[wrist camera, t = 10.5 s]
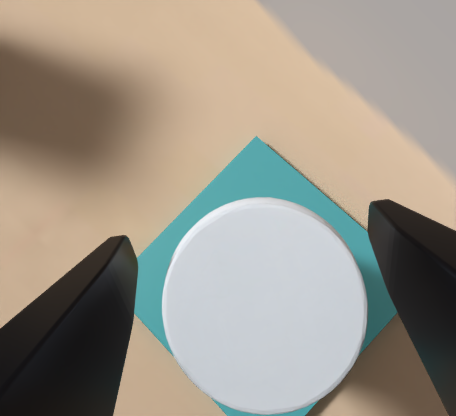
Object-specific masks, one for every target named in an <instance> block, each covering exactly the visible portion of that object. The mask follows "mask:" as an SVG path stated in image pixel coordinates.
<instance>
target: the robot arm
mask: <svg viewBox="0 0 456 416" xmlns="http://www.w3.org/2000/svg"><path fill="white" fill-rule="evenodd" d="M368 237H369V240H370V243H371V246H372V249H373V252H374V254H375V257H376V260H377V263H378V266H379V269H380V272H381V274H382V277H383V280H384V283H385V286H386V288H387V291H388V293H389V296H390V298H391V300H392V302H393V304H394V306H395V308H396V310H397V312H398V314H399V316H400V318H401V320H402V322H403V324H404V326H405V328H406V330H407V332H408V334H409V336H410V338H411V340H412V342H413V344H414V346H415V348H416V350H417V352H418V354H419V356H420V358H421V360H422V362H423V364H424V366H425V368H426V370H427V372H428V374H429V376H430V378H431V380H432V382H433V384H434V386H435V388H436V390H437V392H438V394H439V396H440V398H441V401H442V403H443V405H444V407H445V409H446V411H447V413H448V415H449V416H456V231H455V230H453V229H451V228H448V227H446V226H444V225H442V224H440V223H438V222H436V221H434V220H432V219H429V218H427V217H425V216H423V215H421V214H419V213H417V212H415V211H413V210H410V209H408V208H406V207H404V206H402V205H400V204H398V203H396V202H394V201H391V200H389V199H385V200H377V201H372V202H371V203H370V205H369V215H368ZM137 278H138V261H137V258H136V255H135V253H134V250H133V247H132V245H131V242H130V240H129V238H128V237H127V236H126V235H121V236H114V237H110V238H108V239H107V240H106V241H105V242H104V243H102V244H101V245H100V246H99V247H98V248H96V249H95V250H94V251H93V252H92V253H90V254H89V255H88V256H87V257H86V258H84V259H83V260H82V261H81V262H80V263H78V264H77V265H76V266H75V267H74V268H72V269H71V270H70V271H69V272H68V273H66V274H65V275H64V276H63V277H62V278H60V279H59V280H58V281H57V282H56V283H54V284H53V285H52V286H51V287H50V288H48V289H47V290H46V291H45V292H44V293H42V294H41V295H40V296H39V297H38V298H36V299H35V300H34V301H33V302H32V303H30V304H29V305H28V306H27V307H26V308H24V309H23V310H22V311H21V312H20V313H18V314H17V315H16V316H15V317H14V318H12V319H11V320H10V321H9V322H8V323H6V324H5V325H4V326H3V327H2V328H0V416H113V413H114V409H115V404H116V399H117V395H118V390H119V386H120V381H121V376H122V372H123V367H124V363H125V358H126V354H127V349H128V344H129V340H130V335H131V330H132V325H133V319H134V310H135V299H136V289H137Z"/></svg>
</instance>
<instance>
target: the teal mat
mask: <svg viewBox="0 0 456 416" xmlns="http://www.w3.org/2000/svg"><path fill="white" fill-rule="evenodd" d="M255 197H271V198H277V199H282V200H287V201H290V202H293V203H296V204H299V205H301V206H303V207H306V208H307V209H309V210H311V211H313V212H315V213H316V214H317V215H319V216H320V217H322V218H323V219H324V220H326V221H327V222H328V223H329V224H330V225H331V226H332V227H333V228H334V229H335V230H336V231H337V232H338V233H339V234H340V235H341V237H342V238H343V239H344V240H345V242H346V243H347V245H348V246H349V248H350V250H351V252H352V253H353V255H354V257H355V260H356V262H357V264H358V267H359V269H360V271H361V274H362V277H363V280H364V284H365V288H366V293H367V301H368V323H367V330H366V335H365V339H364V343H363V346H362V348H361V351H360V353H359V355H360V354H361V353H362V351H363V350H364V349H365V348H366V347H367V346H368V345H369V344H370V343H371V341H372V340H373V339H374V338H375V337H376V336H377V335H378V334H379V333H380V331H381V330H382V329H383V328H384V327H385V326H386V325H387V324H388V323H389V321H390V320H391V319H392V318H393V317H394V316H395V315H396V314H397V310H396V308H395V306H394V304H393V302H392V300H391V298H390V296H389V293H388V291H387V288H386V286H385V283H384V280H383V277H382V274H381V272H380V269H379V266H378V263H377V260H376V257H375V254H374V252H373V249H372V246H371V243H370V240H369V237H368V232H367V231H366V230H365V229H363V228H362V227H361V226H360V225H359V224H358V223H356V222H355V221H354V220H353V219H352V218H351V217H350V216H348V215H347V214H346V213H345V212H344V211H343V210H341V209H340V208H339V207H338V206H337V205H336V204H334V203H333V202H332V201H331V200H330V199H329V198H327V197H326V196H325V195H324V194H323V193H322V192H321V191H319V190H318V189H317V188H316V187H315V186H314V185H312V184H311V183H310V182H309V181H308V180H307V179H305V178H304V177H303V176H302V175H301V174H300V173H299V172H297V171H296V170H295V169H294V168H293V167H292V166H290V165H289V164H288V163H287V162H286V161H285V160H283V159H282V158H281V157H280V156H279V155H278V154H276V153H275V152H274V151H273V150H272V149H271V148H270V147H268V146H267V145H266V144H265V143H264V142H263V141H261V140H260V139H259V138H258V137H257V136H256V137H255V138H254V139H253V140H252V141H251V142H250V143H249V144H248V145H247V146H246V147H245V148H244V149H243V150H242V151H241V152H240V153H239V154H238V155H237V156H236V157H235V158H234V159H233V160H232V161H231V162H230V163H229V164H228V165H227V167H226V168H225V169H224V170H223V171H222V172H221V173H220V174H219V175H218V176H217V177H216V178H215V179H214V180H213V181H212V182H211V183H210V184H209V185H208V186H207V187H206V188H205V189H204V190H203V191H202V192H201V193H200V194H199V195H198V196H197V197H196V198H195V199H194V200H193V201H192V202H191V203H190V204H189V205H188V206H187V207H186V208H185V209H184V211H183V212H182V213H181V214H180V215H179V216H178V217H177V218H176V219H175V220H174V221H173V222H172V223H171V224H170V225H169V226H168V227H167V228H166V229H165V230H164V231H163V232H162V233H161V234H160V235H159V236H158V237H157V238H156V239H155V240H154V241H153V242H152V243H151V244H150V245H149V246H148V247H147V248H146V249H145V250H144V251H143V252H142V253H141V255H140V256H139V257H138V258H137V261H138V278H137V289H136V299H135V310H134V313H135V314H136V316H137V317H138V318H139V319H140V320H141V321H142V322H143V323H144V324H145V325H146V327H147V328H148V329H149V330H150V331H151V332H152V333H153V334H154V335H155V337H156V338H157V339H158V340H159V341H160V342H161V343H162V344H163V345H164V346H165V348H166V349H167V350H168V351H169V352H170V353H171V354H172V355H173V353H172V351H171V349H170V346H169V344H168V341H167V338H166V335H165V329H164V324H163V317H162V295H163V289H164V284H165V278H166V274H167V270H168V267H169V264H170V261H171V258H172V256H173V254H174V252H175V250H176V248H177V246H178V244H179V243H180V241H181V240H182V238H183V237H184V236H185V235H186V233H187V232H188V231H189V230H190V229H191V228H192V227H193V226H194V225H195V224H196V223H197V222H198V221H199V220H201V219H202V218H203V217H204V216H206V215H207V214H208V213H210V212H212V211H213V210H215V209H217V208H219V207H221V206H223V205H225V204H228V203H231V202H234V201H237V200H242V199H247V198H255ZM173 356H174V355H173ZM213 401H214V402H215V403H216V404H217V405H218V406H219V407H220V408H221V409H222V410H223V412H224V413H225V414H226V415H227V416H305V415H306V414H307V413H308V412H309V410H310V409H311V408H312V407H313V406H314V405H315V404H316V403H317V402H318V401H317V402H315V403H313V404H311V405H309V406H307V407H304V408H301V409H299V410H296V411H293V412H288V413H283V414H270V415H260V414H251V413H246V412H241V411H238V410H235V409H232V408H230V407H227V406H225V405H223V404H221V403H219V402H217V401H216V400H214V399H213Z"/></svg>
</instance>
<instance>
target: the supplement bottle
mask: <svg viewBox="0 0 456 416" xmlns="http://www.w3.org/2000/svg"><path fill="white" fill-rule="evenodd" d="M162 317H163V324H164V329H165V335H166V338H167V341H168V344H169V346H170V349H171V351H172V353H173V355H174V357H175V359H176V361H177V363H178V365H179V366H180V367H181V369H182V370H183V372H184V373H185V374H186V375H187V377H188V378H189V379H190V380H191V381H192V382H193V383H194V384H195V385H196V386H197V387H198V388H199V389H200V390H202V391H203V392H204V393H205V394H207V395H208V396H209V397H211V398H212V399H214V400H216V401H217V402H219V403H221V404H223V405H225V406H227V407H230V408H232V409H235V410H238V411H241V412H246V413H251V414H260V415H270V414H283V413H288V412H293V411H296V410H299V409H301V408H304V407H307V406H309V405H311V404H313V403H315V402H317V401H319V400H320V399H322V398H324V397H325V396H326V395H327V394H329V393H330V392H331V391H332V390H333V389H335V388H336V387H337V386H338V385H339V384H340V383H341V382H342V381H343V379H344V378H345V377H346V376H347V374H348V373H349V371H350V370H351V369H352V367H353V365H354V364H355V362H356V360H357V358H358V356H359V353H360V351H361V348H362V346H363V343H364V339H365V335H366V330H367V323H368V301H367V293H366V288H365V284H364V280H363V277H362V274H361V271H360V269H359V267H358V264H357V262H356V260H355V257H354V255H353V253H352V252H351V250H350V248H349V246H348V245H347V243H346V242H345V240H344V239H343V238H342V237H341V235H340V234H339V233H338V232H337V231H336V230H335V229H334V228H333V227H332V226H331V225H330V224H329V223H328V222H327V221H326V220H324V219H323V218H322V217H320V216H319V215H317V214H316V213H315V212H313V211H311V210H309V209H307V208H306V207H303V206H301V205H299V204H296V203H293V202H290V201H287V200H282V199H277V198H271V197H255V198H247V199H242V200H237V201H234V202H231V203H228V204H225V205H223V206H221V207H219V208H217V209H215V210H213V211H212V212H210V213H208V214H207V215H206V216H204V217H203V218H202V219H201V220H199V221H198V222H197V223H196V224H195V225H194V226H193V227H192V228H191V229H190V230H189V231H188V232H187V233H186V235H185V236H184V237H183V238H182V240H181V241H180V243H179V244H178V246H177V248H176V250H175V252H174V254H173V256H172V258H171V261H170V264H169V267H168V270H167V274H166V278H165V284H164V289H163V295H162Z"/></svg>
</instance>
